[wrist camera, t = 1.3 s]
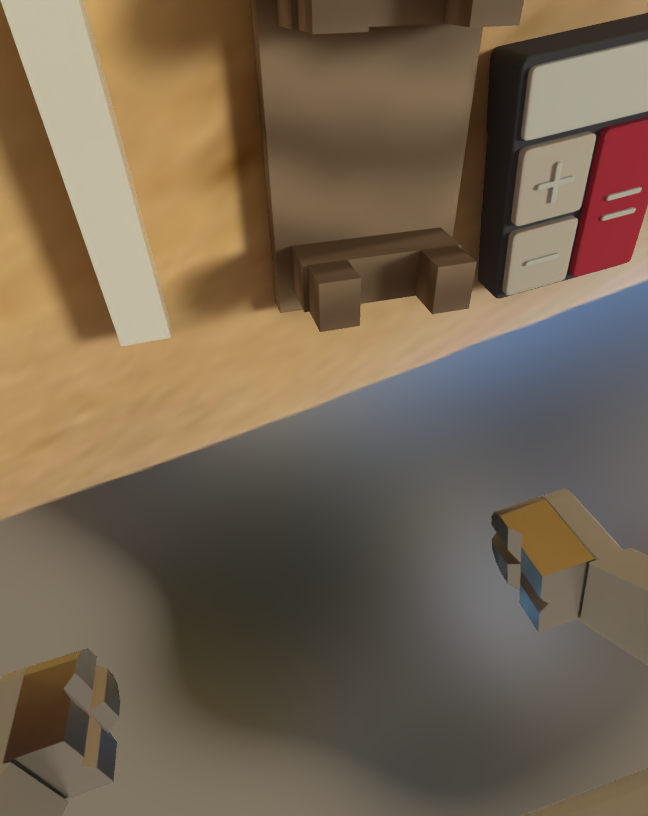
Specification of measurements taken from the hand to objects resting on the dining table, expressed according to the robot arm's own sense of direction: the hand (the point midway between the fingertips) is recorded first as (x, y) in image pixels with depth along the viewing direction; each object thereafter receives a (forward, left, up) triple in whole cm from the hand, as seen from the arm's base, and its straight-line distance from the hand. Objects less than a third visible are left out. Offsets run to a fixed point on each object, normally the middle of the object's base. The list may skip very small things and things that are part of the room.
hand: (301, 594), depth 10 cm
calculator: (+1, +24, -27) cm, 37 cm away
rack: (-2, +10, -27) cm, 29 cm away
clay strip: (-2, -5, -27) cm, 28 cm away
